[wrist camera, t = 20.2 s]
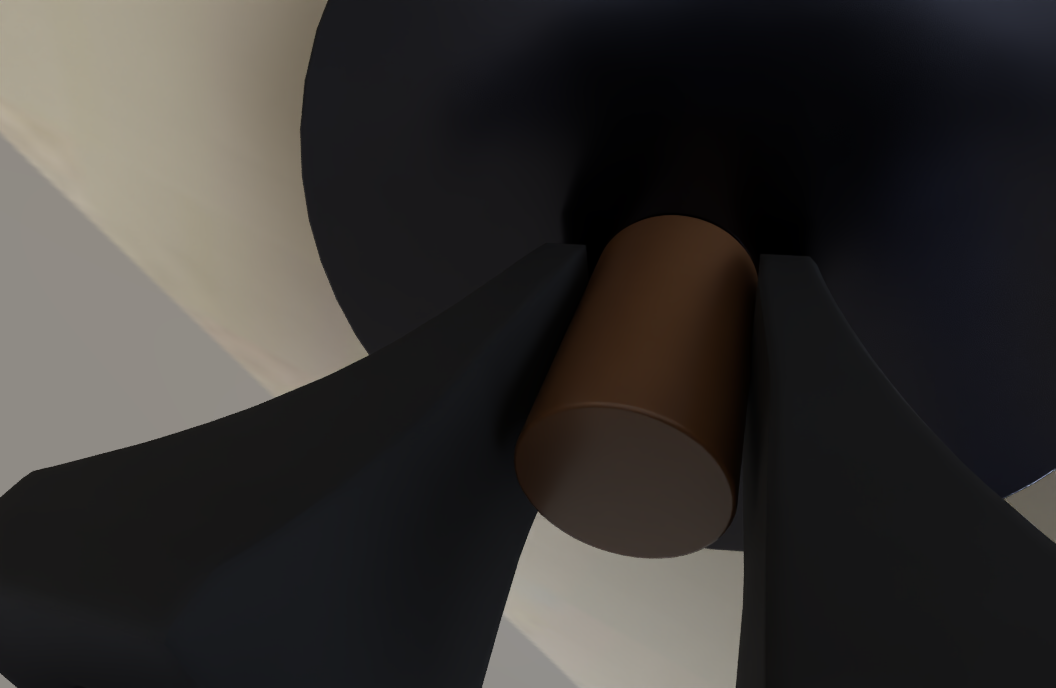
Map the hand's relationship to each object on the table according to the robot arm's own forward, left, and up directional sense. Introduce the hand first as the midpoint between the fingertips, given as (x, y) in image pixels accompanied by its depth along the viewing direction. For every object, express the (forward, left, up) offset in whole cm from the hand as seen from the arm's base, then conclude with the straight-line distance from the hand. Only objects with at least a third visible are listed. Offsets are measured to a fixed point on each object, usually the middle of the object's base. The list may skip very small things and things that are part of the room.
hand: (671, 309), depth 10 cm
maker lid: (0, 0, -1) cm, 1 cm away
